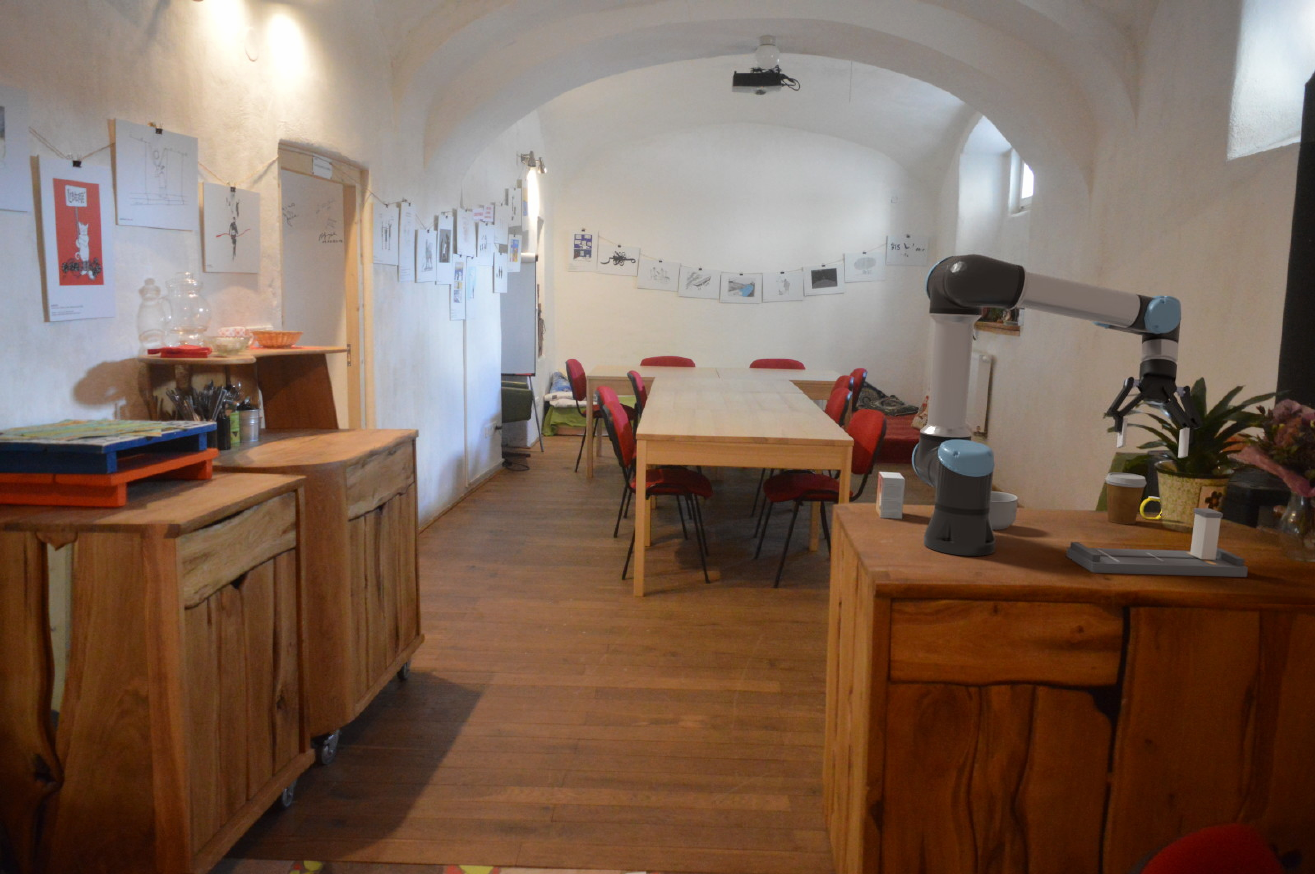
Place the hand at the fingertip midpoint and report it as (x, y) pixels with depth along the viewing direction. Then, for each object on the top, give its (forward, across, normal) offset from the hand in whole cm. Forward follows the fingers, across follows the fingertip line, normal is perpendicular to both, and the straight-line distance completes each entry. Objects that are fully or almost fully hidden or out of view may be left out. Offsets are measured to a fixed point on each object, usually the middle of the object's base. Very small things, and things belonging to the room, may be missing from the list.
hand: (1151, 452), depth 206 cm
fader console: (+27, +1, +7) cm, 28 cm away
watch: (+8, -18, -37) cm, 41 cm away
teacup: (+19, +27, -22) cm, 40 cm away
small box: (+20, +51, -29) cm, 62 cm away
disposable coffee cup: (+11, -8, -32) cm, 35 cm away
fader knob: (+23, -9, +7) cm, 26 cm away
